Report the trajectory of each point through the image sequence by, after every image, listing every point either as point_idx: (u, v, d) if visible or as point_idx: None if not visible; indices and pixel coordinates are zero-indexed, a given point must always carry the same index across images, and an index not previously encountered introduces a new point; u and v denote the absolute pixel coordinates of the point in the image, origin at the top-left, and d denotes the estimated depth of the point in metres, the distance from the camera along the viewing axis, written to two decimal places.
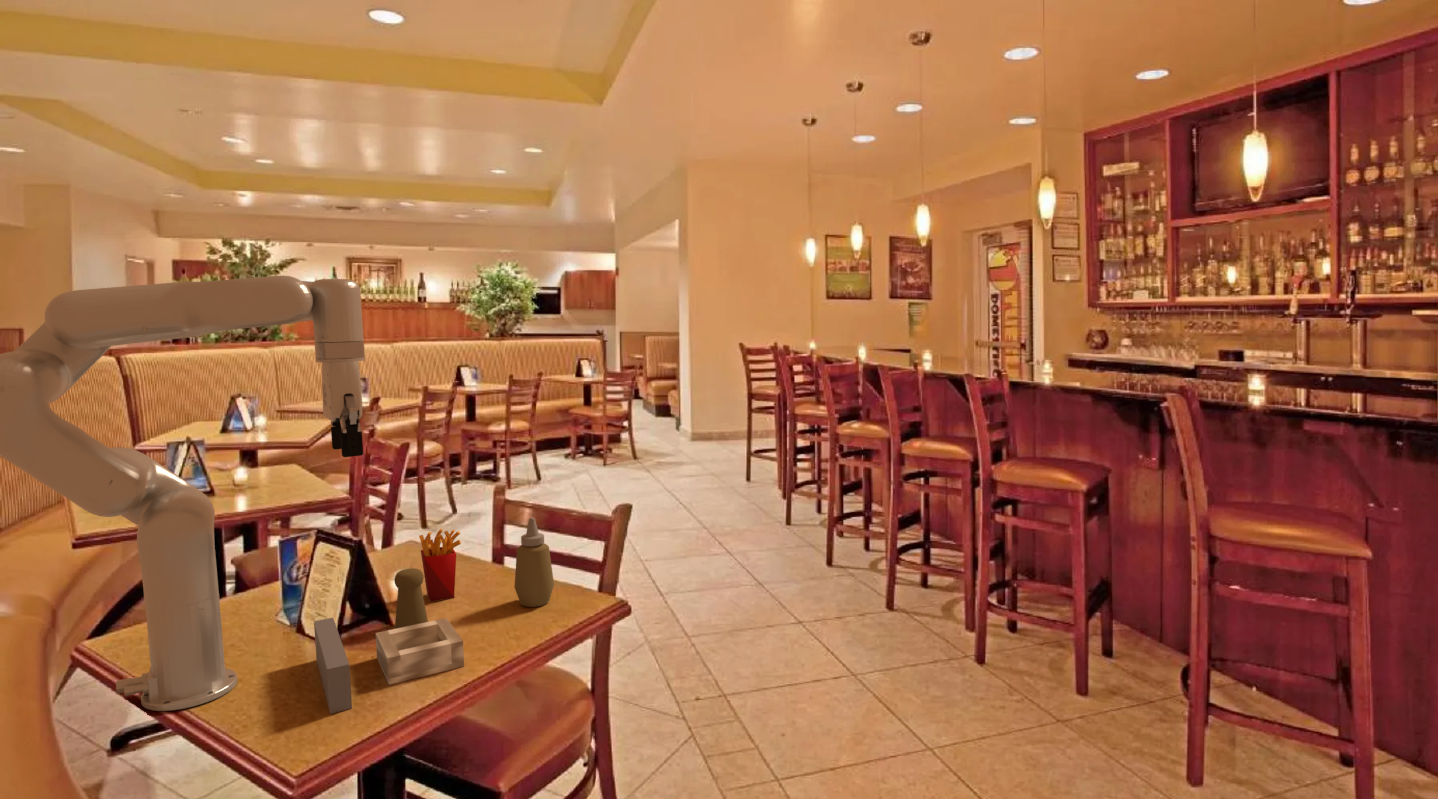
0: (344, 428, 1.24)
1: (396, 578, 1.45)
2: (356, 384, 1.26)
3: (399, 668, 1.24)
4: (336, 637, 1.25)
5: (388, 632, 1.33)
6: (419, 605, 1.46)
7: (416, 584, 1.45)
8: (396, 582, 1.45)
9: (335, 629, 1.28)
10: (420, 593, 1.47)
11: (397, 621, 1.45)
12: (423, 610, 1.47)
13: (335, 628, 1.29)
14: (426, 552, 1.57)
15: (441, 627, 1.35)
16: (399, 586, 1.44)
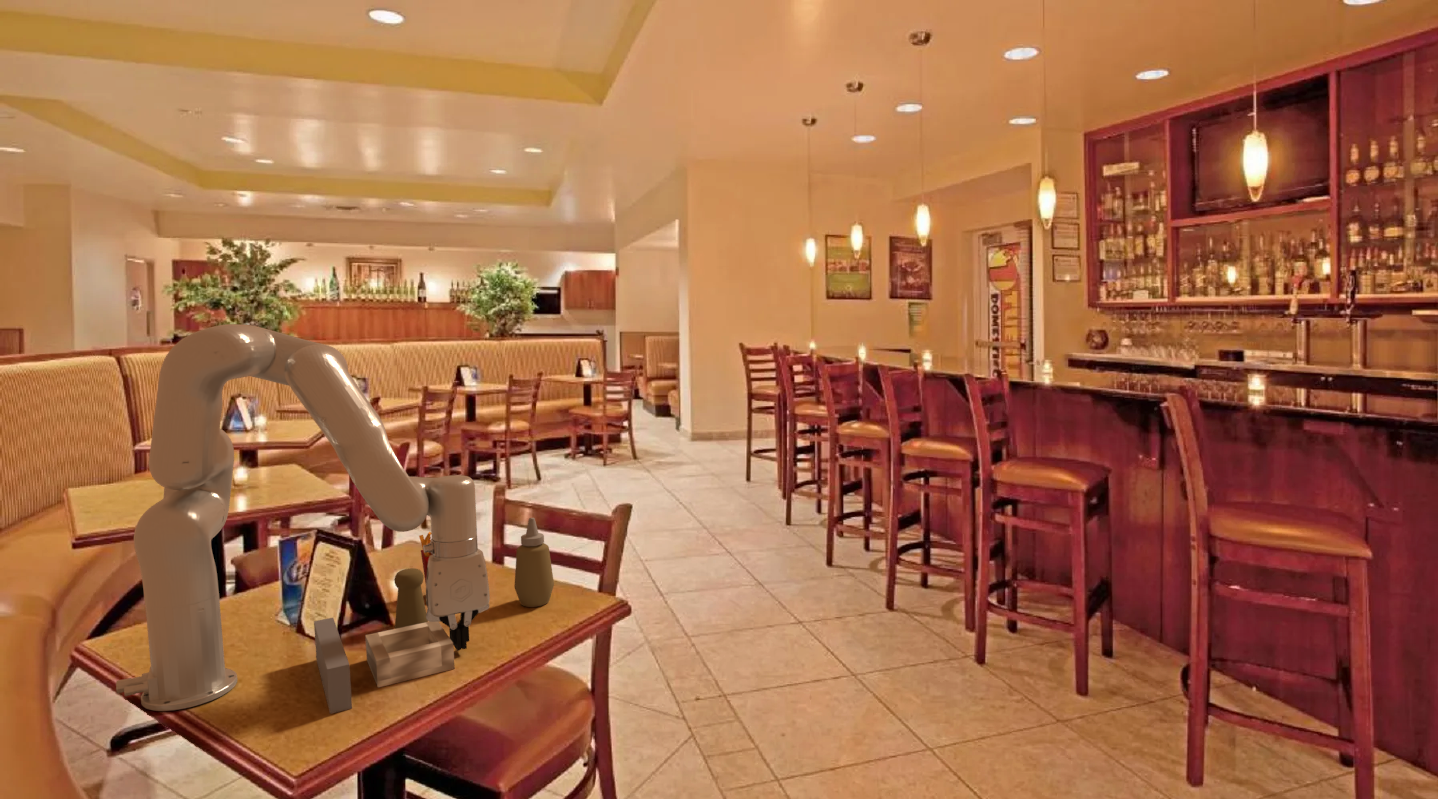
0: None
1: (396, 578, 1.45)
2: None
3: (388, 671, 1.23)
4: (336, 637, 1.25)
5: (378, 634, 1.32)
6: (419, 605, 1.46)
7: (416, 584, 1.45)
8: (396, 582, 1.45)
9: (335, 629, 1.28)
10: (420, 593, 1.47)
11: (397, 621, 1.45)
12: (423, 610, 1.47)
13: (335, 628, 1.29)
14: (426, 552, 1.57)
15: (432, 629, 1.34)
16: (399, 586, 1.44)
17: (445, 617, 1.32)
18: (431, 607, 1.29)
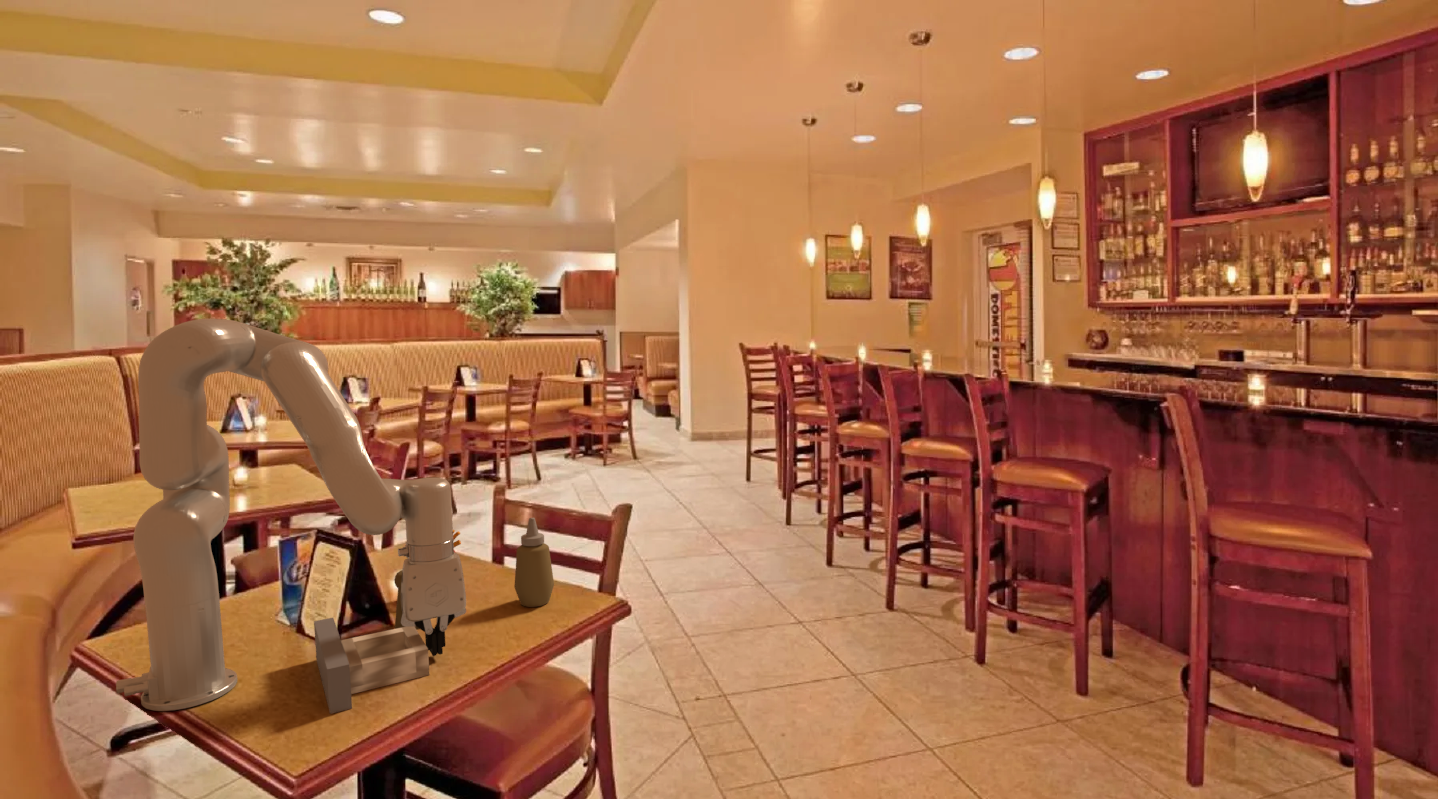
0: (446, 627, 1.32)
1: (396, 578, 1.45)
2: None
3: (361, 677, 1.21)
4: (336, 637, 1.25)
5: (352, 640, 1.30)
6: None
7: None
8: (396, 582, 1.45)
9: (335, 629, 1.28)
10: None
11: (397, 621, 1.45)
12: None
13: (335, 628, 1.29)
14: None
15: (407, 634, 1.32)
16: (399, 586, 1.44)
17: (420, 622, 1.30)
18: (405, 612, 1.27)
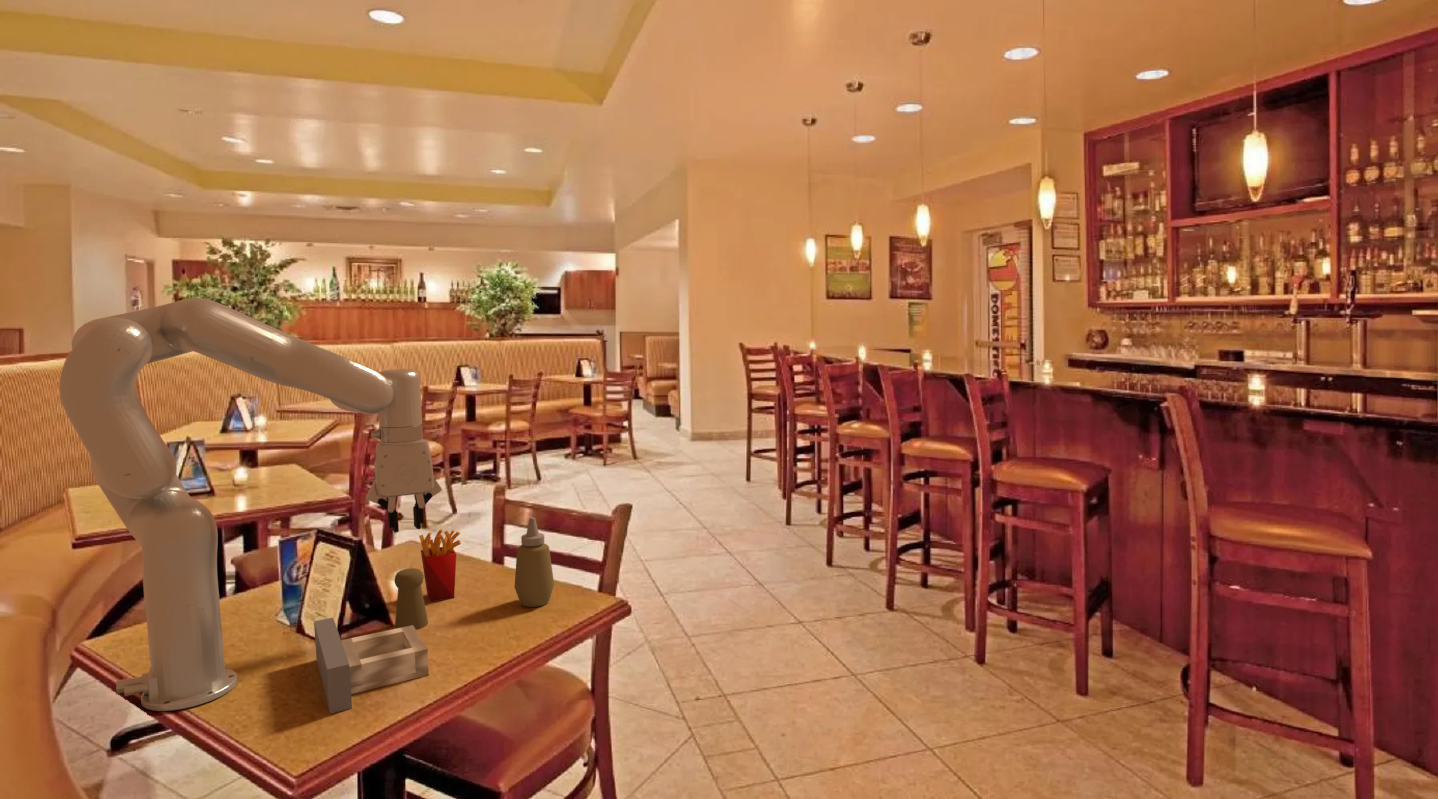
0: (424, 504, 1.46)
1: (396, 578, 1.45)
2: None
3: (360, 677, 1.21)
4: (336, 637, 1.25)
5: (352, 640, 1.30)
6: (419, 605, 1.46)
7: (416, 584, 1.45)
8: (396, 582, 1.45)
9: (335, 629, 1.28)
10: (420, 593, 1.47)
11: (397, 621, 1.45)
12: (423, 610, 1.47)
13: (335, 628, 1.29)
14: (426, 552, 1.57)
15: (406, 634, 1.32)
16: (399, 586, 1.44)
17: (383, 500, 1.42)
18: (378, 488, 1.40)
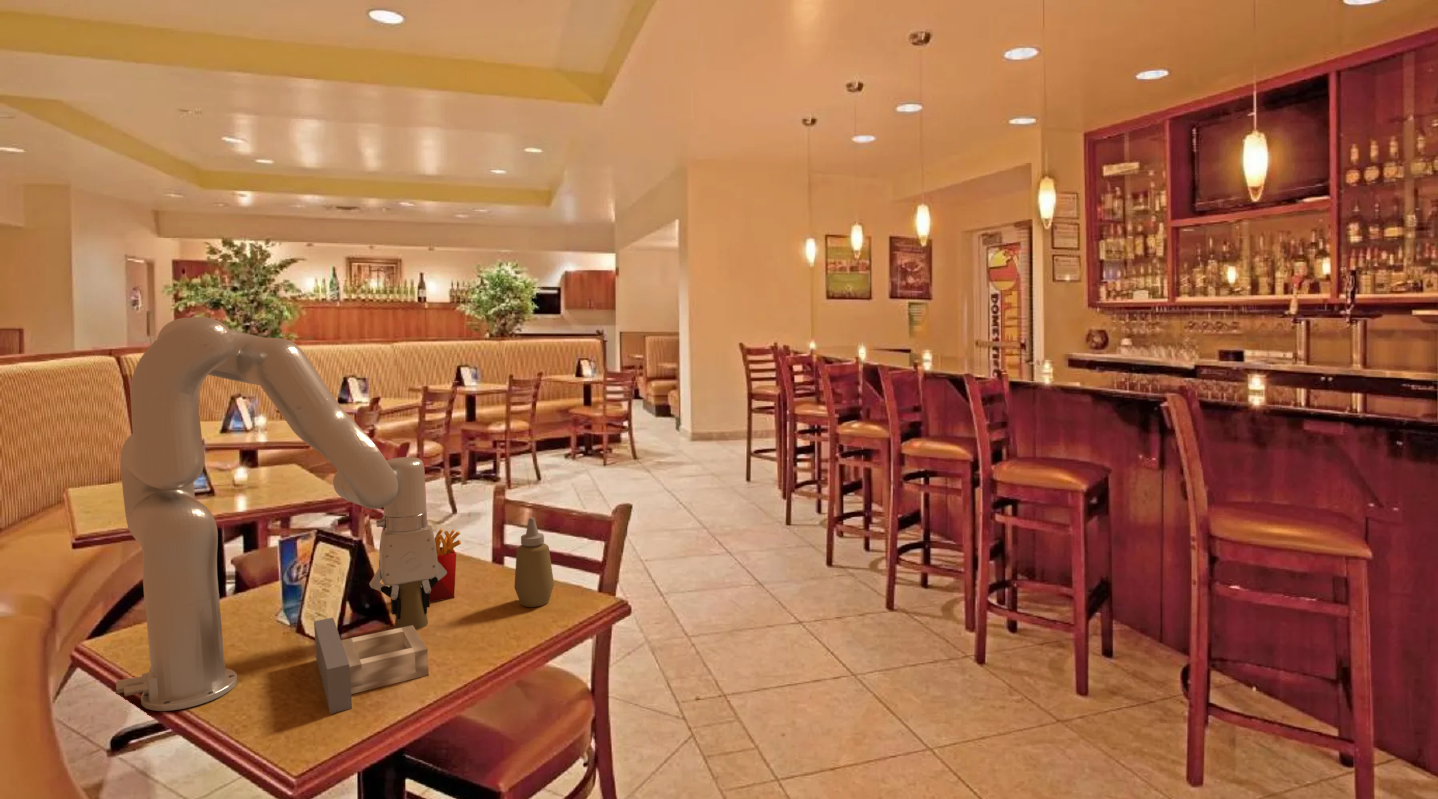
0: (430, 589, 1.48)
1: None
2: None
3: (360, 677, 1.21)
4: (336, 637, 1.25)
5: (352, 640, 1.30)
6: (419, 605, 1.46)
7: (416, 584, 1.45)
8: None
9: (335, 629, 1.28)
10: (420, 593, 1.47)
11: (397, 621, 1.45)
12: (423, 610, 1.47)
13: (335, 628, 1.29)
14: None
15: (406, 634, 1.32)
16: (399, 586, 1.44)
17: (386, 588, 1.44)
18: (383, 577, 1.42)
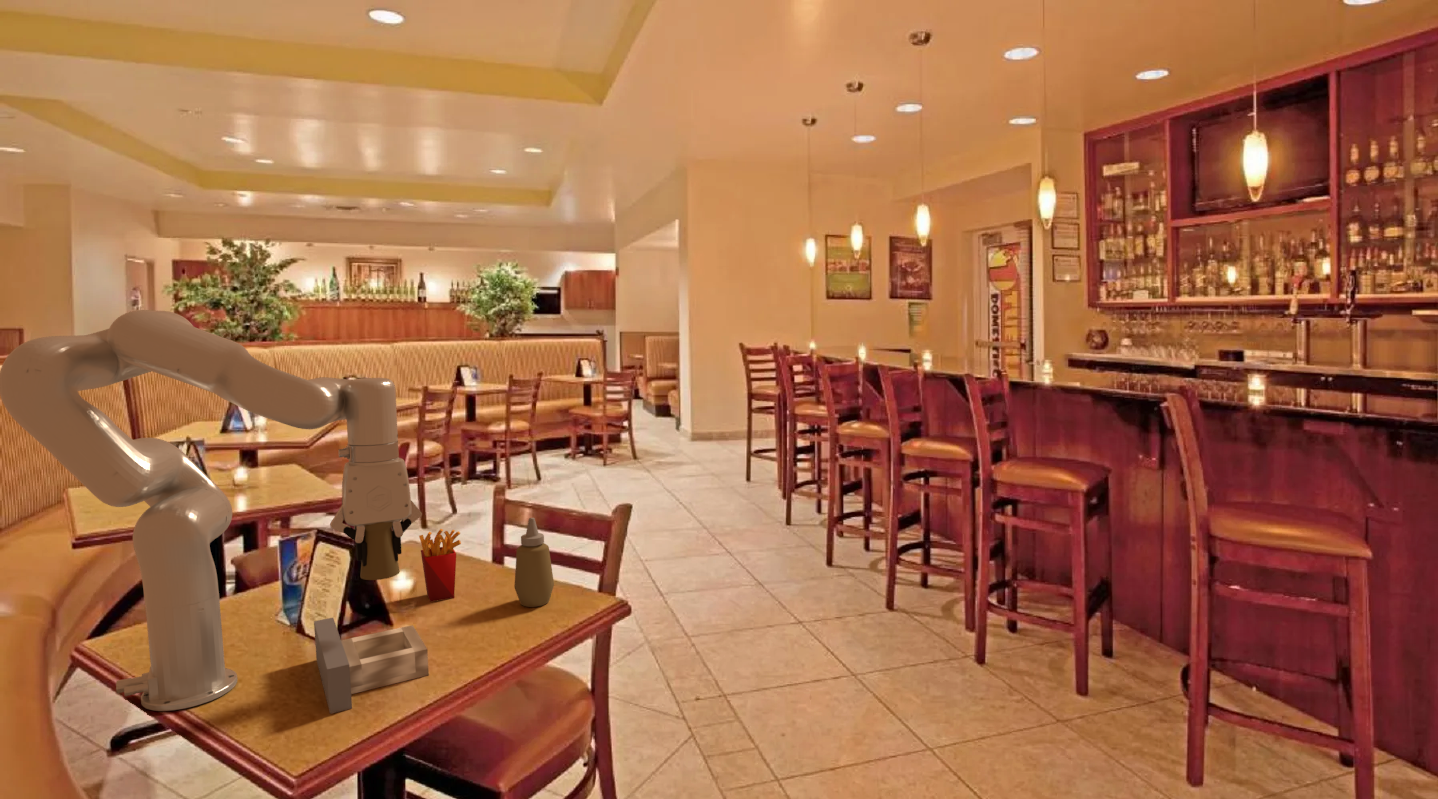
0: (402, 532, 1.27)
1: None
2: None
3: (360, 677, 1.21)
4: (336, 637, 1.25)
5: (352, 640, 1.30)
6: (389, 550, 1.25)
7: (386, 525, 1.24)
8: None
9: (335, 629, 1.28)
10: (390, 536, 1.26)
11: (363, 568, 1.24)
12: (394, 556, 1.26)
13: (335, 628, 1.29)
14: (426, 552, 1.57)
15: (406, 634, 1.32)
16: (365, 527, 1.24)
17: (349, 529, 1.23)
18: (345, 515, 1.21)
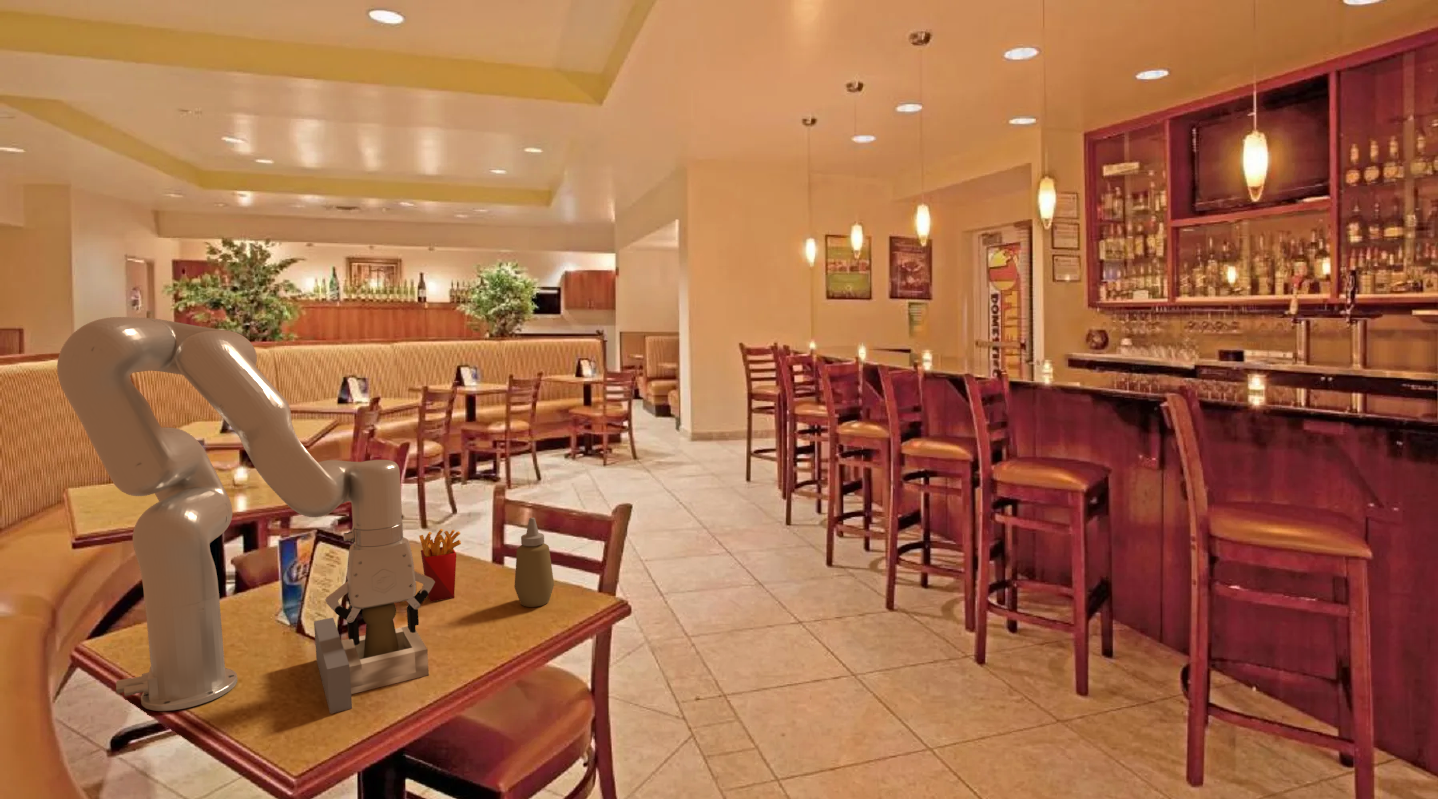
0: (419, 603, 1.29)
1: (364, 611, 1.25)
2: None
3: (360, 677, 1.21)
4: (336, 637, 1.25)
5: (352, 640, 1.30)
6: (390, 642, 1.26)
7: (387, 618, 1.26)
8: (364, 616, 1.25)
9: (335, 629, 1.28)
10: (392, 628, 1.27)
11: None
12: (395, 648, 1.27)
13: (335, 628, 1.29)
14: (426, 552, 1.57)
15: (406, 634, 1.32)
16: (367, 621, 1.25)
17: (341, 609, 1.23)
18: (351, 598, 1.22)
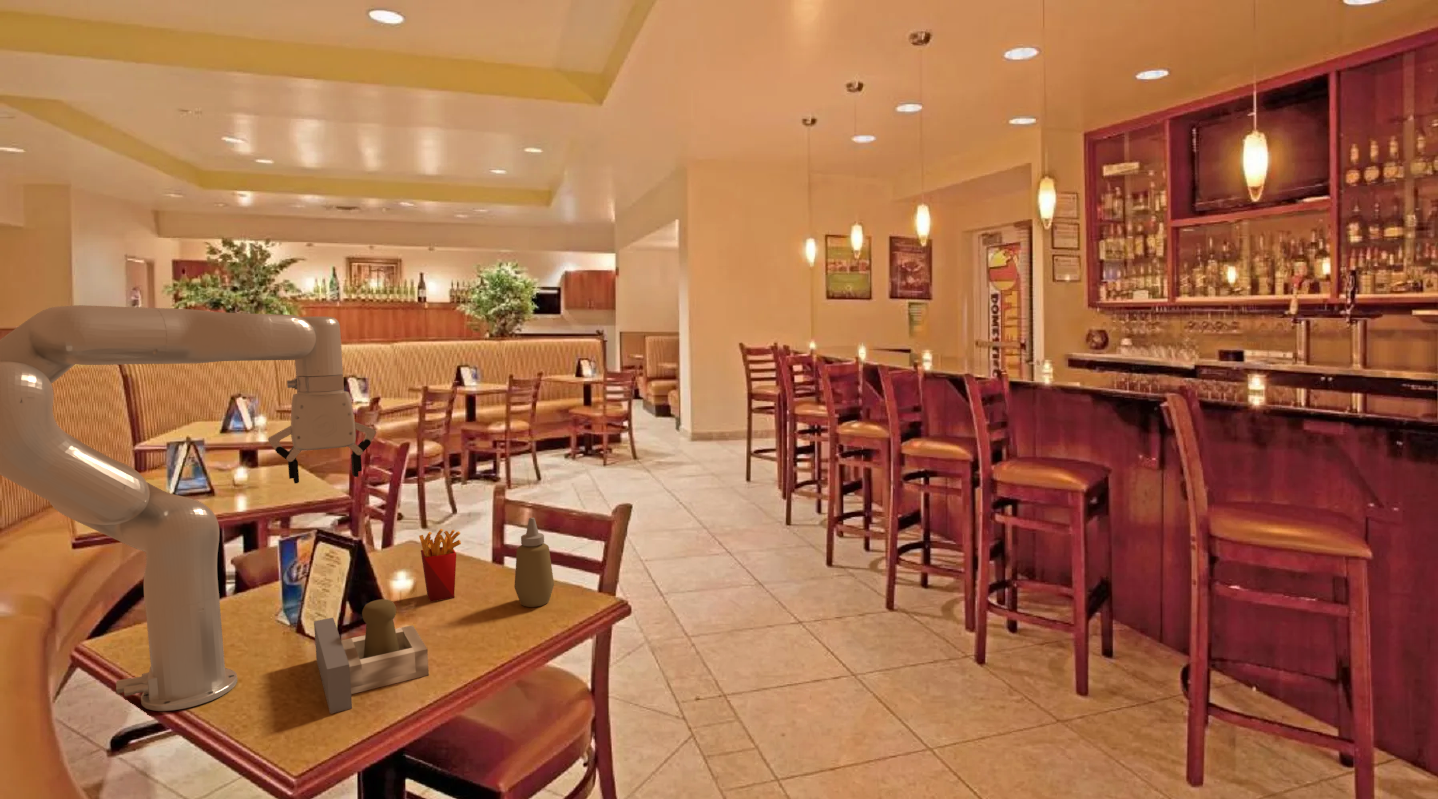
0: (361, 449, 1.40)
1: (364, 611, 1.25)
2: None
3: (360, 677, 1.21)
4: (336, 637, 1.25)
5: (352, 640, 1.30)
6: (390, 642, 1.26)
7: (387, 618, 1.26)
8: (364, 616, 1.25)
9: (335, 629, 1.28)
10: (392, 628, 1.27)
11: None
12: (395, 648, 1.27)
13: (335, 628, 1.29)
14: (426, 552, 1.57)
15: (406, 634, 1.32)
16: (367, 621, 1.25)
17: (281, 449, 1.33)
18: (293, 440, 1.33)
